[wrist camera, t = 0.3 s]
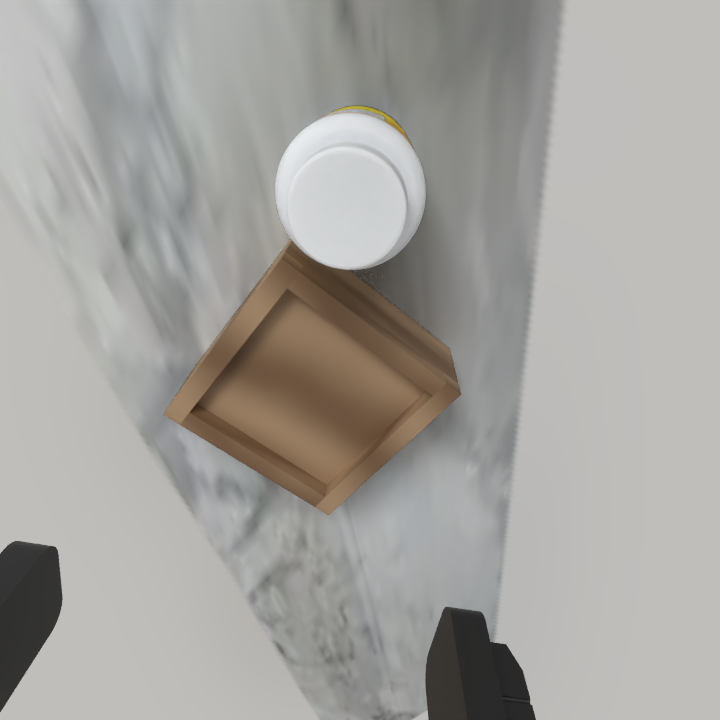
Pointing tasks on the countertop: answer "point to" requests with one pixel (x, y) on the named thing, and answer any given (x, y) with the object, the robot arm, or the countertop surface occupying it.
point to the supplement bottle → (351, 189)
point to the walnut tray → (316, 381)
